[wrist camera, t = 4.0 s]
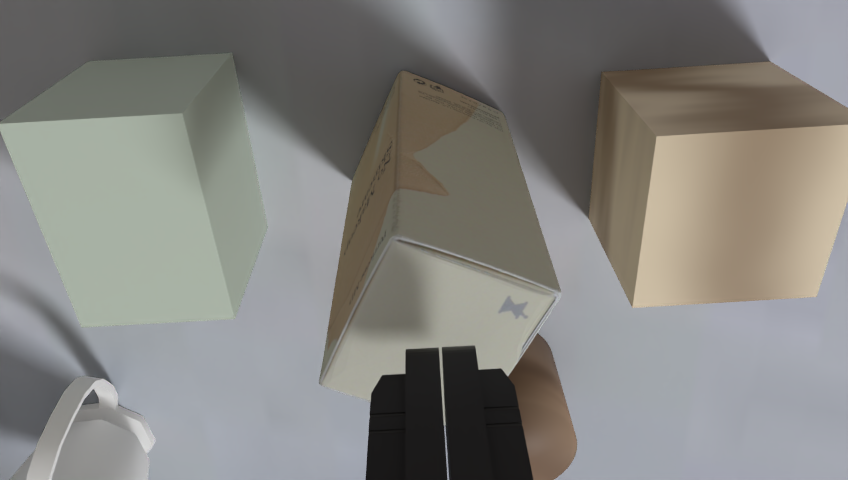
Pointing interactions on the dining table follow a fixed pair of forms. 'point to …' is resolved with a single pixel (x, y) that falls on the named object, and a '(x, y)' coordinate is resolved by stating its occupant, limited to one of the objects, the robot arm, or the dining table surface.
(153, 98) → the sage block
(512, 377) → the walnut cylinder
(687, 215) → the beech cube
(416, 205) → the box
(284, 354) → the dining table surface
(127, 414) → the cup
